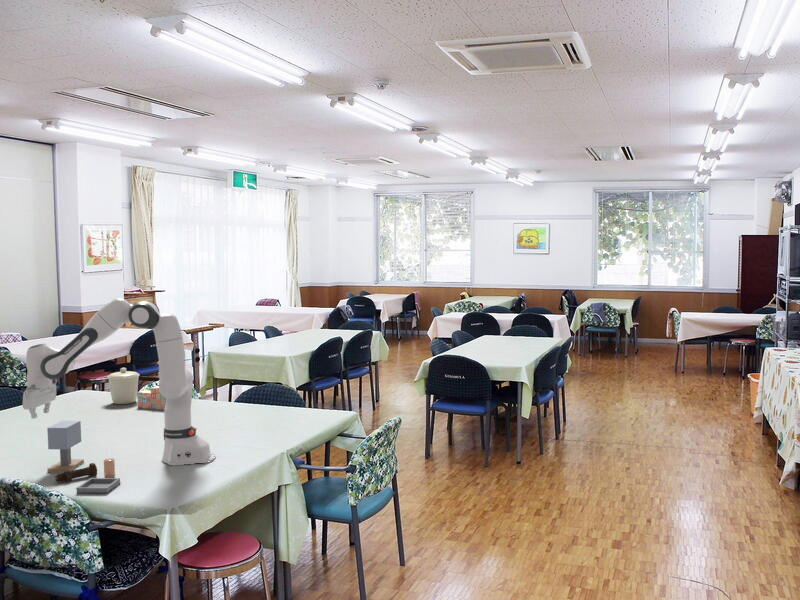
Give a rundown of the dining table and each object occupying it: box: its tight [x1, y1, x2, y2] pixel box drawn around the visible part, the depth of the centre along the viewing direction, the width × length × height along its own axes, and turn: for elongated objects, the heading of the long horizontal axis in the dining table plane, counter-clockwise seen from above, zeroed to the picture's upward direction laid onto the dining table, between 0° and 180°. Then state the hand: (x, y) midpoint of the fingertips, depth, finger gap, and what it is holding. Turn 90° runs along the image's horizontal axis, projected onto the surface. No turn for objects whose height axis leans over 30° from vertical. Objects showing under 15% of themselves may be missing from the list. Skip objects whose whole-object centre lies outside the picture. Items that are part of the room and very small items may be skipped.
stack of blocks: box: [137, 385, 166, 411], centre depth 413 cm, size 21×6×12 cm, turn 74°
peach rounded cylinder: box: [103, 458, 116, 478], centre depth 289 cm, size 4×4×7 cm
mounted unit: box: [46, 420, 85, 473], centre depth 301 cm, size 10×13×18 cm
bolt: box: [54, 462, 98, 483], centre depth 287 cm, size 6×5×15 cm
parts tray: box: [76, 477, 121, 495], centre depth 275 cm, size 12×12×2 cm
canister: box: [106, 367, 140, 405], centre depth 427 cm, size 18×18×21 cm
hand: (40, 415), depth 301 cm, fingers open, 8 cm apart
